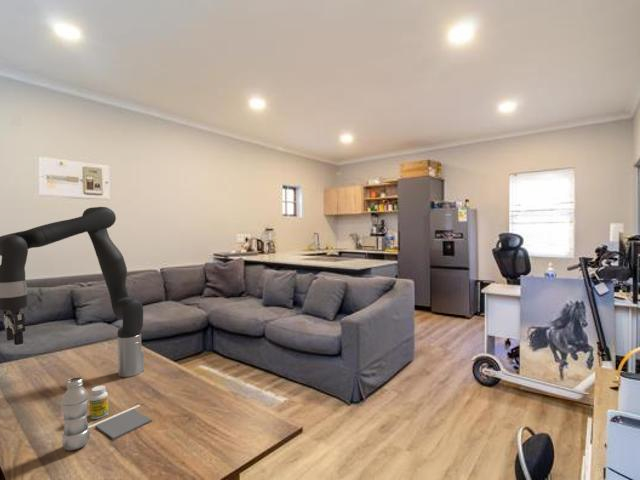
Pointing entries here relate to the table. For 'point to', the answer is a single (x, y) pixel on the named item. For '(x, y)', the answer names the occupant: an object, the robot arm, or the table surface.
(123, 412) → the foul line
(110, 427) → the mat
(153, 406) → the table surface
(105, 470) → the table surface
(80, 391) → the plastic bottle
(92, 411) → the supplement bottle
